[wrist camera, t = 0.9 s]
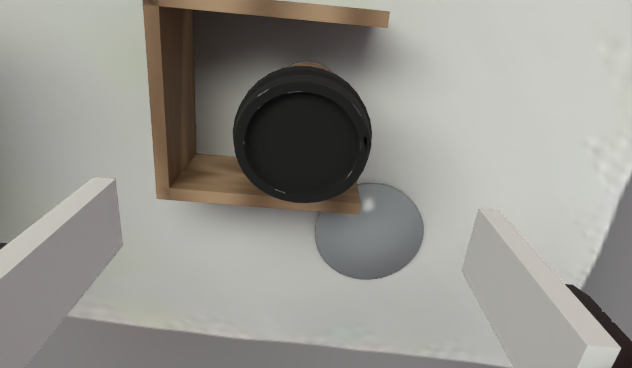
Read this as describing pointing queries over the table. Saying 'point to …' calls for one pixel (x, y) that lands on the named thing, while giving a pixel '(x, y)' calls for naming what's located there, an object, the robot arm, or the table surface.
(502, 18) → the table surface
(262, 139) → the coffee cup
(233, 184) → the wooden c-shaped bracket
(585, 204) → the table surface
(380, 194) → the coaster
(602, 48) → the table surface
